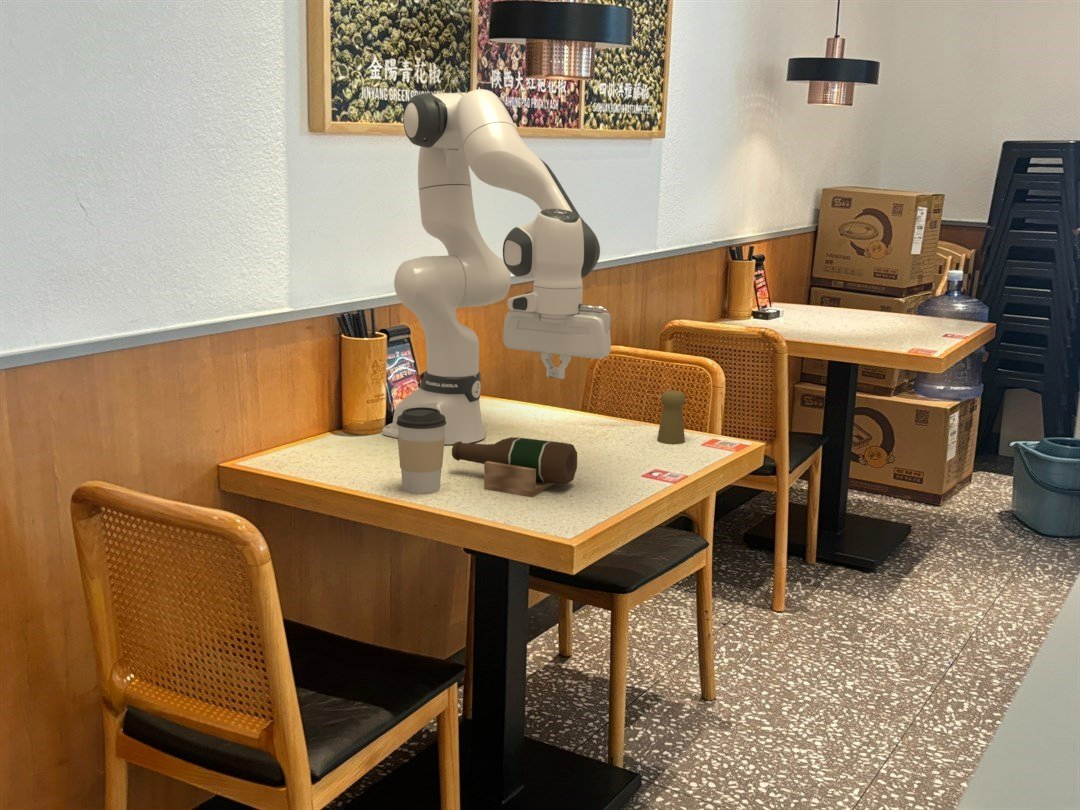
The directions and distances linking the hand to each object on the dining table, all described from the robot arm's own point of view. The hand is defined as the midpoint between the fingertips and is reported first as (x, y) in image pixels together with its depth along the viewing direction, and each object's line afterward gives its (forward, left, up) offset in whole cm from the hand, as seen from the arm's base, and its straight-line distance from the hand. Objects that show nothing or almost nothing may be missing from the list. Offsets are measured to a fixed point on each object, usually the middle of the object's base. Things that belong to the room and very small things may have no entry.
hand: (555, 377), depth 208 cm
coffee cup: (-21, -12, -21) cm, 32 cm away
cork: (+7, +45, -21) cm, 50 cm away
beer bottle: (+3, +1, -16) cm, 17 cm away
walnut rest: (-6, 0, -21) cm, 22 cm away
